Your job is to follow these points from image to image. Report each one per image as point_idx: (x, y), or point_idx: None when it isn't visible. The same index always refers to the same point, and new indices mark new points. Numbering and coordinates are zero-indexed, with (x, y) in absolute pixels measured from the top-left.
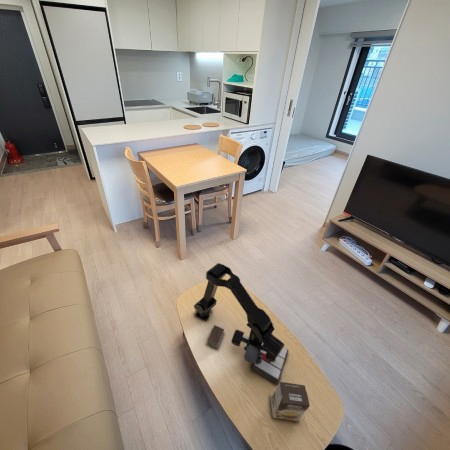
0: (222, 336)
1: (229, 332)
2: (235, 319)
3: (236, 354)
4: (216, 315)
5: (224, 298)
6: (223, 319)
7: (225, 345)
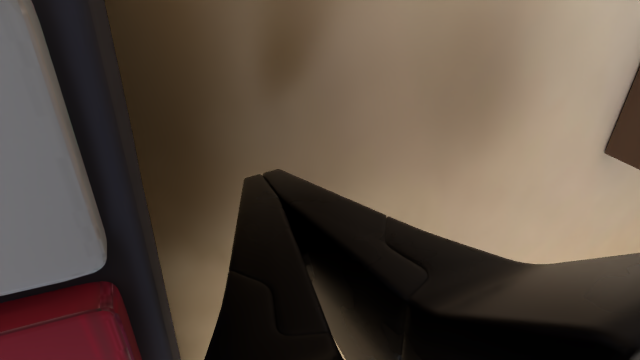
0: (618, 125)
1: (548, 206)
2: None
3: (458, 31)
4: (637, 237)
5: None
6: (591, 253)
7: (593, 54)
